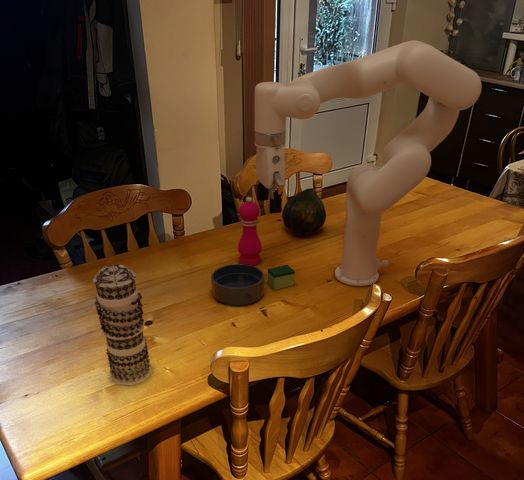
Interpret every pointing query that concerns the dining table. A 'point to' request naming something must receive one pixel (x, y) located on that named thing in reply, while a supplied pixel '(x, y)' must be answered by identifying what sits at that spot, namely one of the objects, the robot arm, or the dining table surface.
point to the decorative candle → (122, 324)
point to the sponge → (281, 277)
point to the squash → (304, 213)
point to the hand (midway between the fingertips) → (268, 206)
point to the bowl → (237, 284)
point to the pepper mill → (249, 233)
